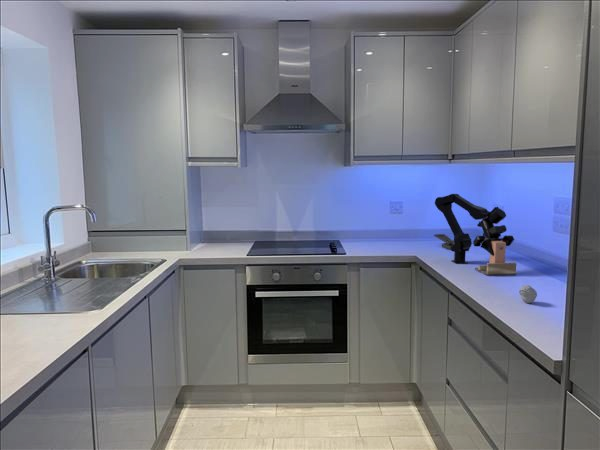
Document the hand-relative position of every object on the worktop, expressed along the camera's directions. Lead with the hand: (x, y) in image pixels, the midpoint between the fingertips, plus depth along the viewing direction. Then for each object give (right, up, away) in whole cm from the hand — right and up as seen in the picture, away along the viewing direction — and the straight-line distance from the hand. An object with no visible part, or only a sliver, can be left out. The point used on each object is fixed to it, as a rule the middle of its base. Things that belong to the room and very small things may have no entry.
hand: (498, 255), depth 219 cm
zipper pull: (-1, 0, +75) cm, 75 cm away
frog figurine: (-9, -16, -45) cm, 48 cm away
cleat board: (0, -9, +4) cm, 10 cm away
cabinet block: (0, -7, +2) cm, 7 cm away
